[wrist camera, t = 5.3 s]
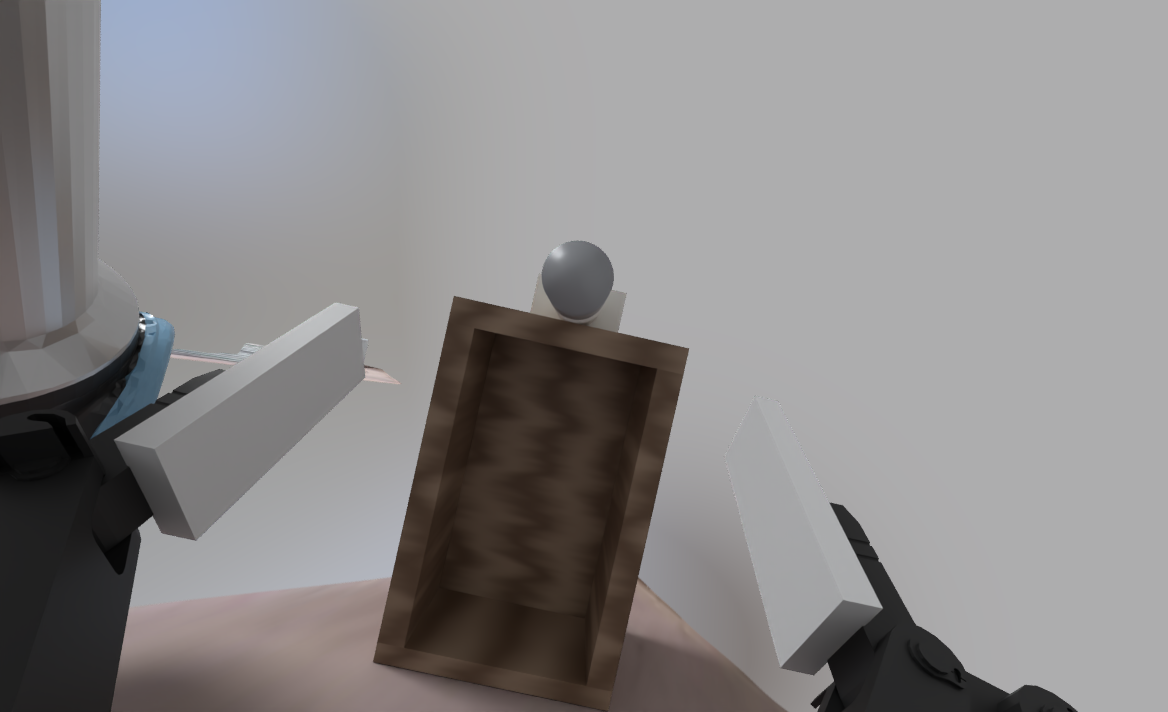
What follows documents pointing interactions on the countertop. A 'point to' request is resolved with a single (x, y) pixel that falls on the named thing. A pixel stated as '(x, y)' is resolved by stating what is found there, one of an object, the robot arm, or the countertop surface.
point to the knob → (579, 287)
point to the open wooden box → (530, 504)
